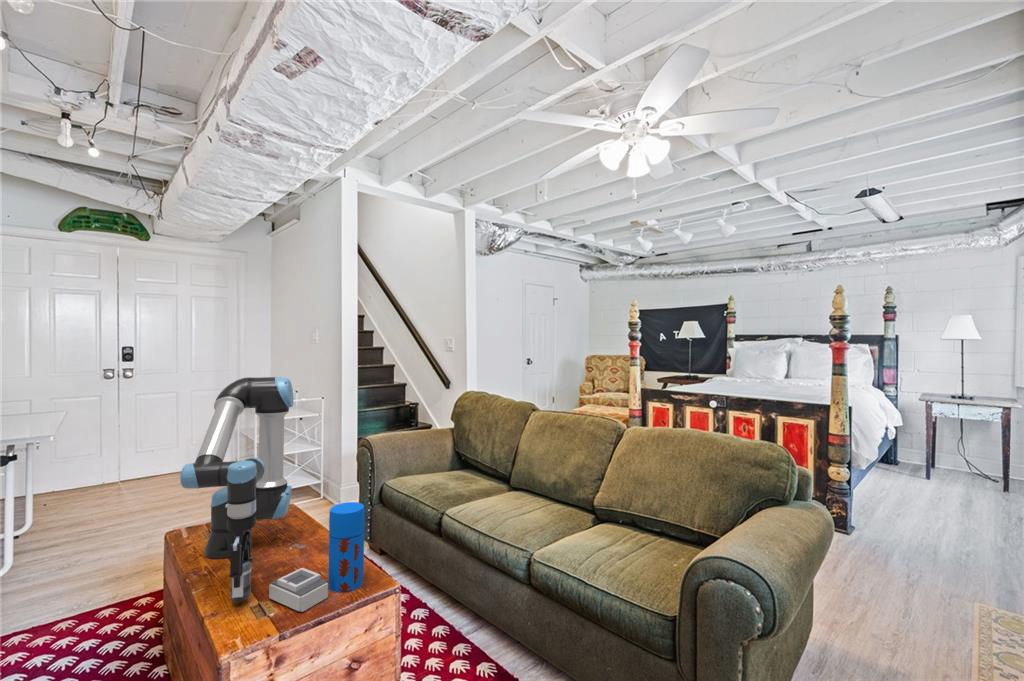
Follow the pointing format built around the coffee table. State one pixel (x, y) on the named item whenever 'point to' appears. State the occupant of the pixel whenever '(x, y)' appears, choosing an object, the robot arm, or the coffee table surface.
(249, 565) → the lens
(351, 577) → the thermos
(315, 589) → the grey square frame
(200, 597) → the coffee table surface
